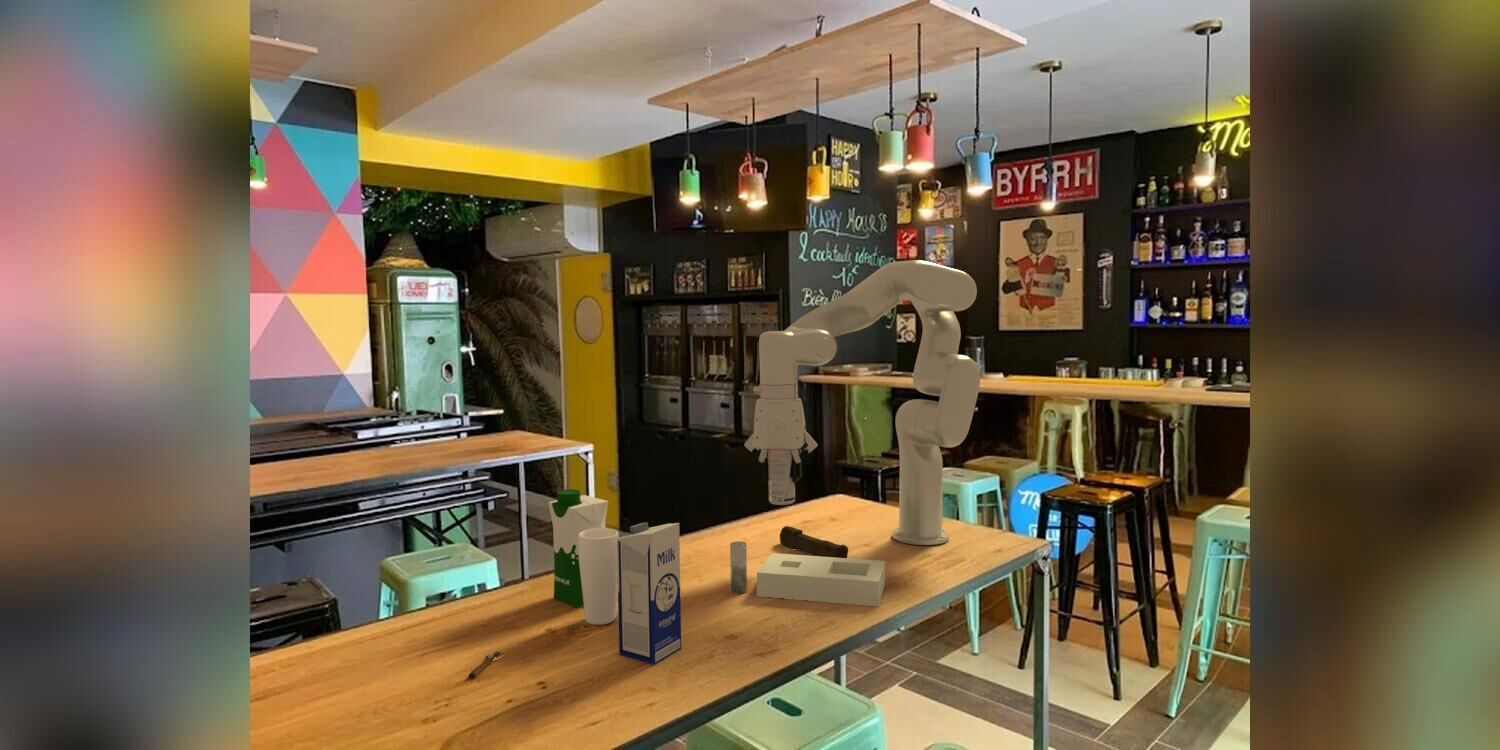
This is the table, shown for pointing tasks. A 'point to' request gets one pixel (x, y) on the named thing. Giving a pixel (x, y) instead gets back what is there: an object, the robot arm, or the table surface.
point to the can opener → (482, 666)
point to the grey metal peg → (738, 567)
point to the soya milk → (572, 540)
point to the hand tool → (811, 543)
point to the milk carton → (649, 592)
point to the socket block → (822, 579)
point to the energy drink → (780, 477)
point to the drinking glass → (598, 574)
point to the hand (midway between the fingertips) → (781, 480)
